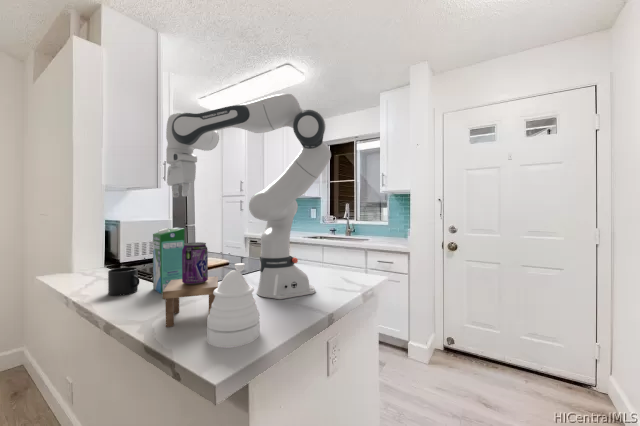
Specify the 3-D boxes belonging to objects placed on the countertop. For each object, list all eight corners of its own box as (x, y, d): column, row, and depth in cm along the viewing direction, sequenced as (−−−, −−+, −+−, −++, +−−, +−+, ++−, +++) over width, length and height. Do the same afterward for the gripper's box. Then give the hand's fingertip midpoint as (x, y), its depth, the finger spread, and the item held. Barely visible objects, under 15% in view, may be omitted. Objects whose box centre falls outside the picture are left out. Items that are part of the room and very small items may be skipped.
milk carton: (153, 289, 115) (152, 228, 115) (176, 284, 122) (176, 227, 121) (160, 293, 109) (160, 229, 109) (185, 288, 116) (184, 227, 115)
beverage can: (191, 287, 81) (190, 245, 81) (177, 283, 85) (177, 243, 84) (212, 282, 87) (212, 243, 86) (198, 279, 90) (198, 241, 90)
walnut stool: (218, 306, 94) (217, 276, 94) (217, 321, 81) (217, 286, 81) (171, 311, 90) (171, 279, 90) (162, 328, 76) (162, 291, 76)
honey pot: (237, 321, 81) (237, 259, 81) (270, 332, 74) (269, 264, 74) (196, 338, 70) (195, 266, 70) (229, 353, 63) (228, 272, 63)
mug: (128, 297, 104) (128, 272, 104) (101, 295, 107) (101, 271, 107) (148, 290, 114) (148, 267, 114) (123, 288, 116) (123, 266, 116)
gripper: (162, 161, 109) (162, 197, 109) (179, 153, 94) (180, 195, 94) (179, 163, 113) (180, 198, 113) (199, 156, 99) (199, 196, 99)
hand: (180, 196), depth 104 cm, fingers open, 8 cm apart
